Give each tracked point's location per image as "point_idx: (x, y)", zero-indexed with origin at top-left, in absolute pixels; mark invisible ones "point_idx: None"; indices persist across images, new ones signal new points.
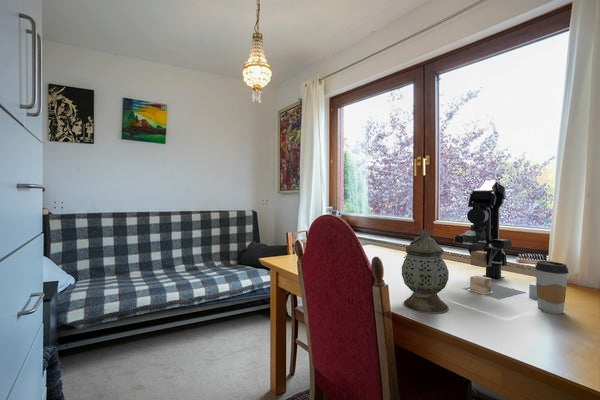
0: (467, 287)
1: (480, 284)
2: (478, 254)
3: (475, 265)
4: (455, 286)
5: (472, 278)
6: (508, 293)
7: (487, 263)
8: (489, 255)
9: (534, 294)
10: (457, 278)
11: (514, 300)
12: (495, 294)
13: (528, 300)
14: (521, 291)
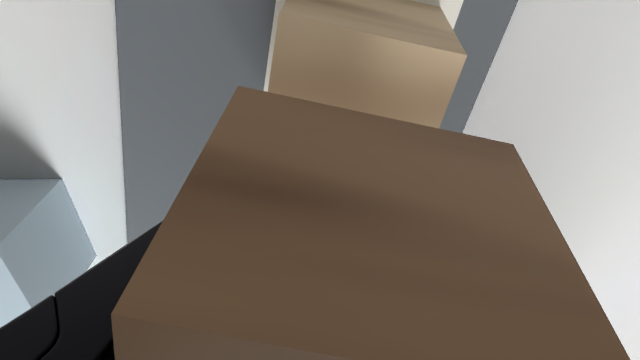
0: (482, 77)
1: (321, 2)
2: (341, 306)
3: (409, 125)
4: (601, 56)
5: (431, 41)
6: (174, 159)
7: None
8: (16, 332)
9: (11, 198)
10: (614, 309)
11: (60, 19)
12: (215, 43)
13: (21, 111)
14: None
